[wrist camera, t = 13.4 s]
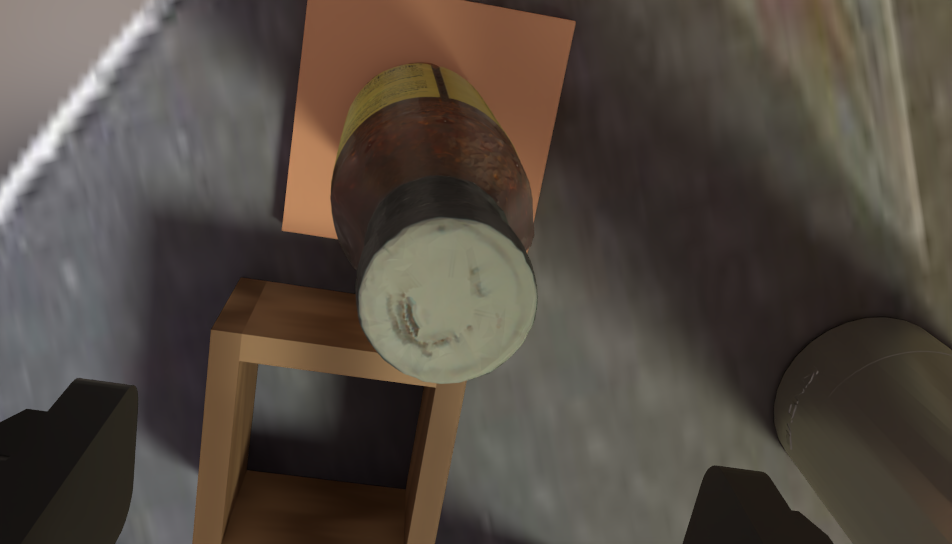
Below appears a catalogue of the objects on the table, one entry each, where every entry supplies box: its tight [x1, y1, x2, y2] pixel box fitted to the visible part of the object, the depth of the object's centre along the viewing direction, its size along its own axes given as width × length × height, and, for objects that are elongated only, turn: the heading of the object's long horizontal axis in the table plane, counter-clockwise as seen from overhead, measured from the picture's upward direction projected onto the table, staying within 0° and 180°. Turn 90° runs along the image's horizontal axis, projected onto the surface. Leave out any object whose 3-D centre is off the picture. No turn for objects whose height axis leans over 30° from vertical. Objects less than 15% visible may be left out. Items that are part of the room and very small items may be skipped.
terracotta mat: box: [282, 0, 576, 252], centre depth 38 cm, size 11×11×1 cm
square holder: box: [192, 277, 467, 544], centre depth 40 cm, size 10×11×6 cm
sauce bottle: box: [330, 62, 538, 384], centre depth 28 cm, size 7×6×20 cm
